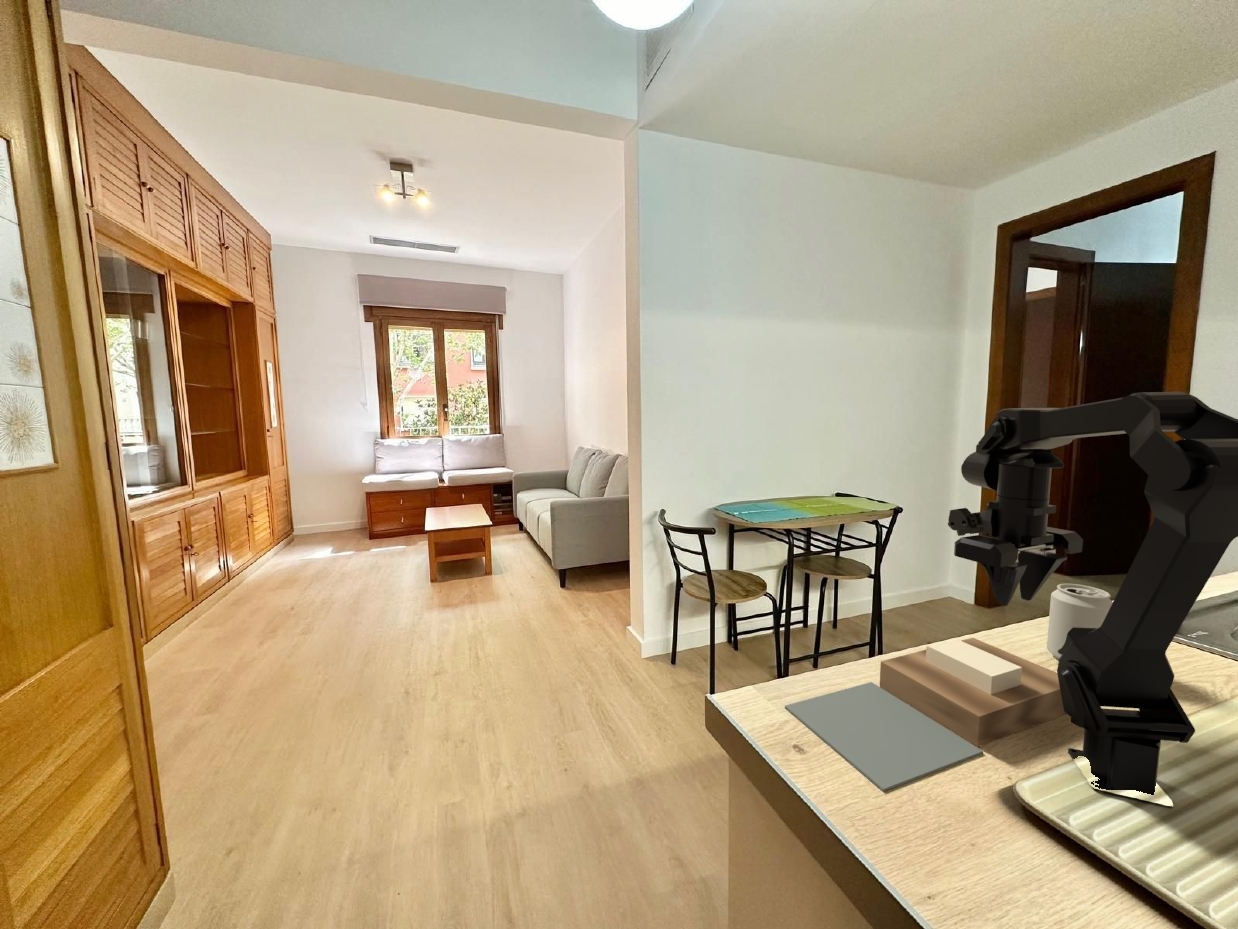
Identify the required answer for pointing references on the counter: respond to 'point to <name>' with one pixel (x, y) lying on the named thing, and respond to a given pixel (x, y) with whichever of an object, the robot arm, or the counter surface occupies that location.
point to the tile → (974, 665)
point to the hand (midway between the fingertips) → (1014, 602)
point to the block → (974, 696)
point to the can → (1074, 612)
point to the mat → (882, 734)
